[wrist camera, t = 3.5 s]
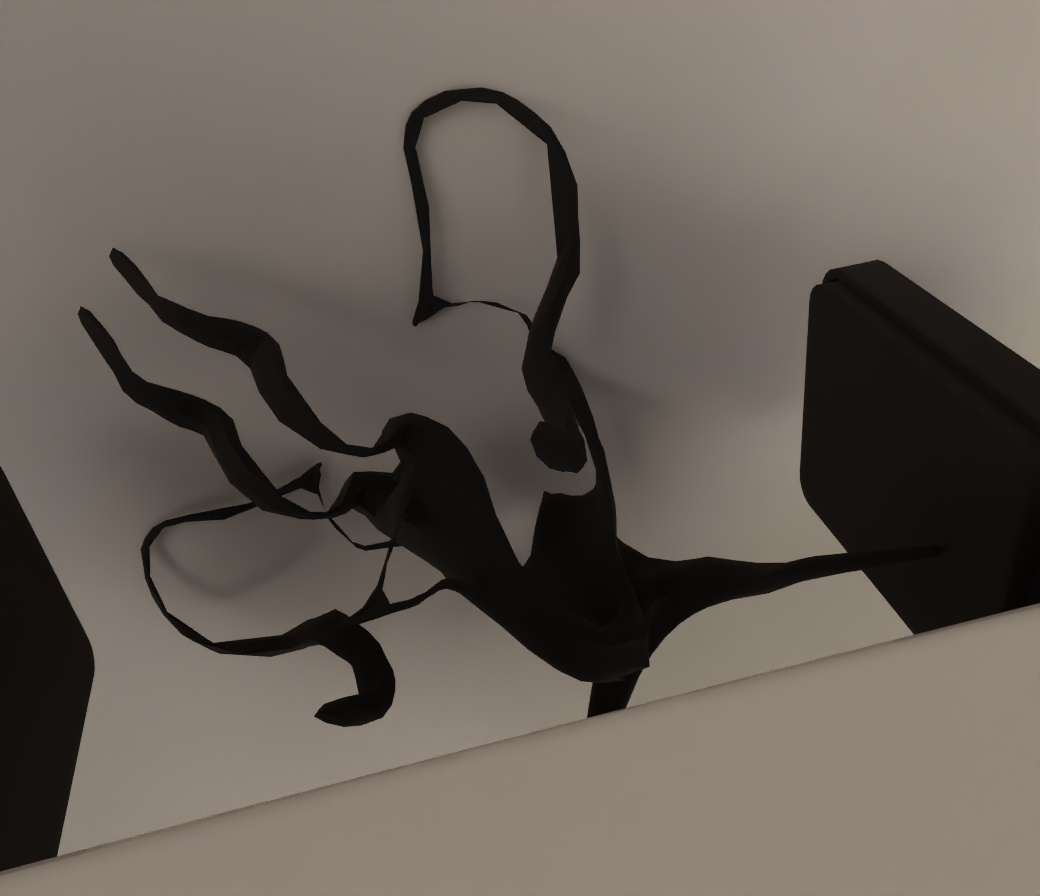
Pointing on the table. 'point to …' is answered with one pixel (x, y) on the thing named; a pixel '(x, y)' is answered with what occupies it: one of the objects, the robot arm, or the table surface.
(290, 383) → the creature
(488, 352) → the table surface
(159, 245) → the table surface
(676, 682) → the table surface
